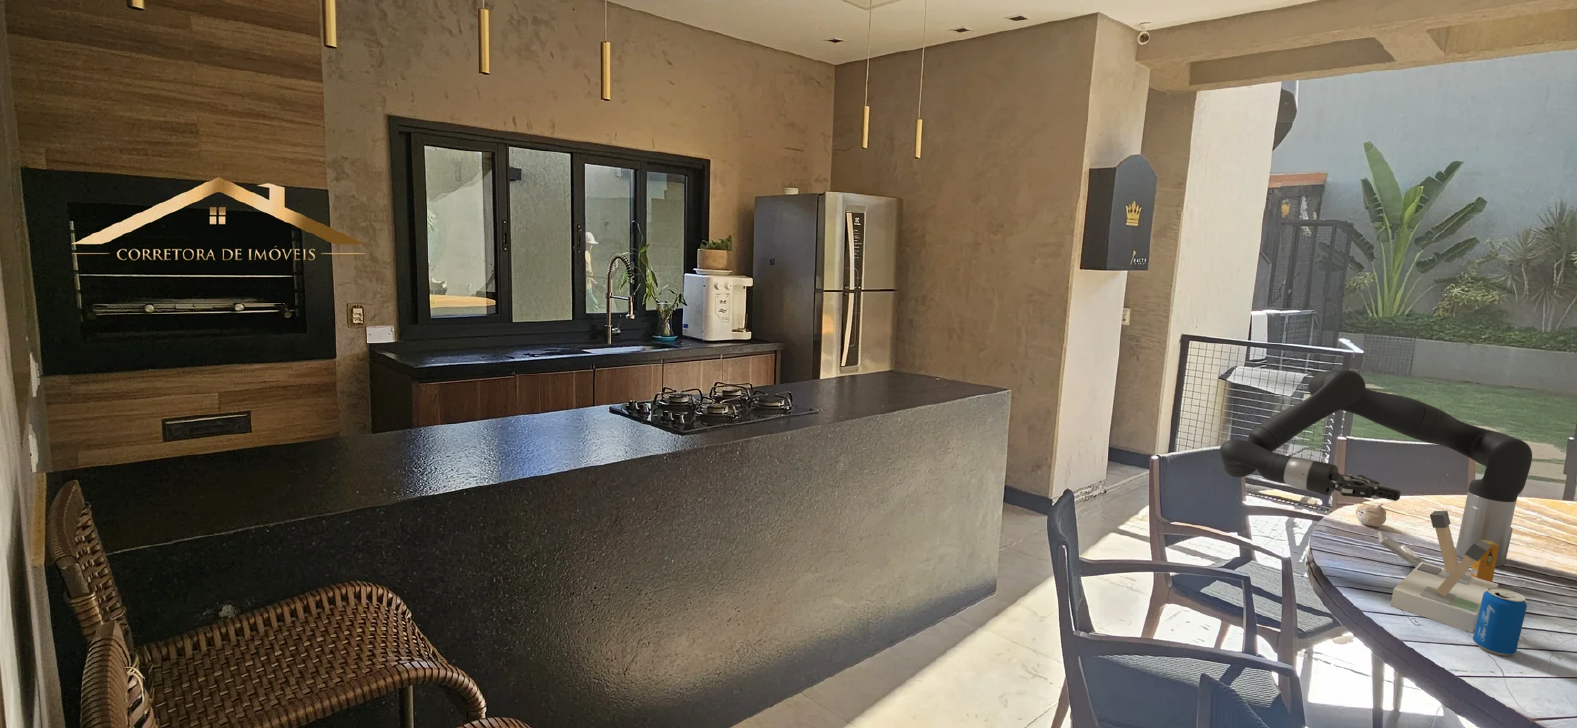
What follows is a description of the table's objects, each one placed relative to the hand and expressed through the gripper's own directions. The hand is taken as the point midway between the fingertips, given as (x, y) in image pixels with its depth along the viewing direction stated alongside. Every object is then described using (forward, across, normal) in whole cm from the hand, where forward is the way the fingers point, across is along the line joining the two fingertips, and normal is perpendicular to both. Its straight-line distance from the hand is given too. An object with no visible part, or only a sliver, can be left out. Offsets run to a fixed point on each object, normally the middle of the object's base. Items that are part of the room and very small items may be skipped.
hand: (1399, 496), depth 172 cm
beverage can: (+21, -9, +24) cm, 33 cm away
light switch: (-1, +24, +24) cm, 34 cm away
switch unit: (+10, +8, +24) cm, 27 cm away
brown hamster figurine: (-15, +51, +25) cm, 58 cm away
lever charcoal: (+9, +16, +19) cm, 26 cm away
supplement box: (+12, +30, +25) cm, 41 cm away
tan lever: (+10, 0, +19) cm, 21 cm away
